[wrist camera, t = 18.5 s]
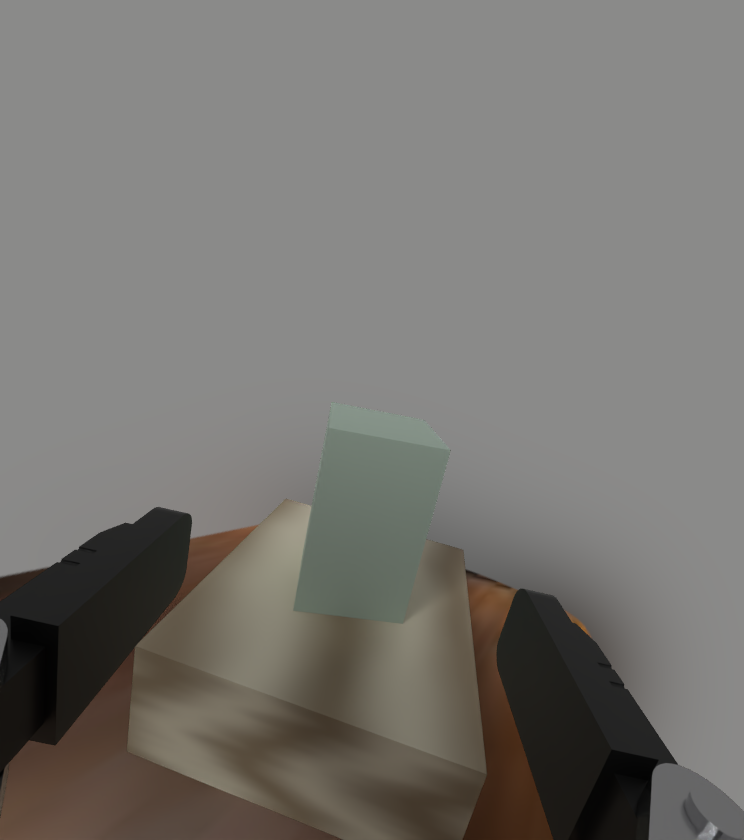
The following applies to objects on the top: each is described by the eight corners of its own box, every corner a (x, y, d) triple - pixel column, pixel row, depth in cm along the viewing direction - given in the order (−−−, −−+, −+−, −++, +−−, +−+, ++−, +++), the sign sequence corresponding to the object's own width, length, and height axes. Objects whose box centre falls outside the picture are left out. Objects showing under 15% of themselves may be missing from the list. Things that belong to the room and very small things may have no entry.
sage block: (293, 610, 18) (328, 427, 16) (303, 545, 24) (331, 402, 22) (402, 623, 19) (450, 450, 17) (389, 557, 25) (424, 420, 22)
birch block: (126, 758, 16) (135, 645, 15) (274, 564, 31) (285, 498, 29) (443, 889, 14) (486, 774, 13) (442, 617, 29) (463, 549, 28)
